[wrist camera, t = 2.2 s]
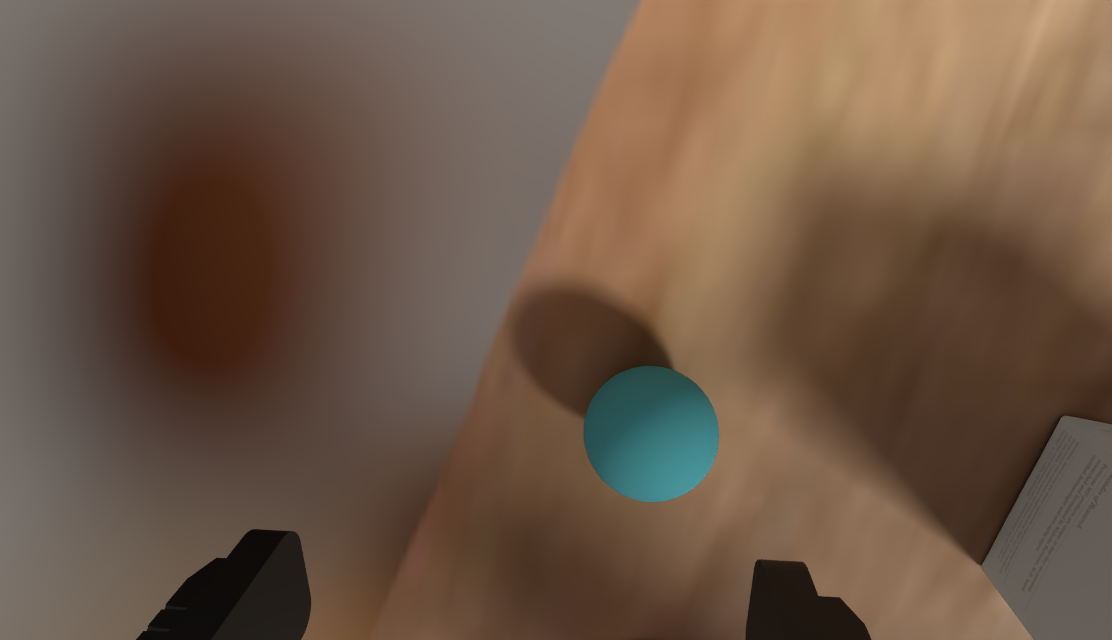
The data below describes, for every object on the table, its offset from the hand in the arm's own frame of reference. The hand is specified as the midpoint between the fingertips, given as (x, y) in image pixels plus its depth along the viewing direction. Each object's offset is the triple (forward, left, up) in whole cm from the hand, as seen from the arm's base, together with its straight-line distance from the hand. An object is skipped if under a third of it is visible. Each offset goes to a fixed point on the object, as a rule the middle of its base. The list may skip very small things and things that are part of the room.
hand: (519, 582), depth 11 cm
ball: (-3, +6, -15) cm, 16 cm away
